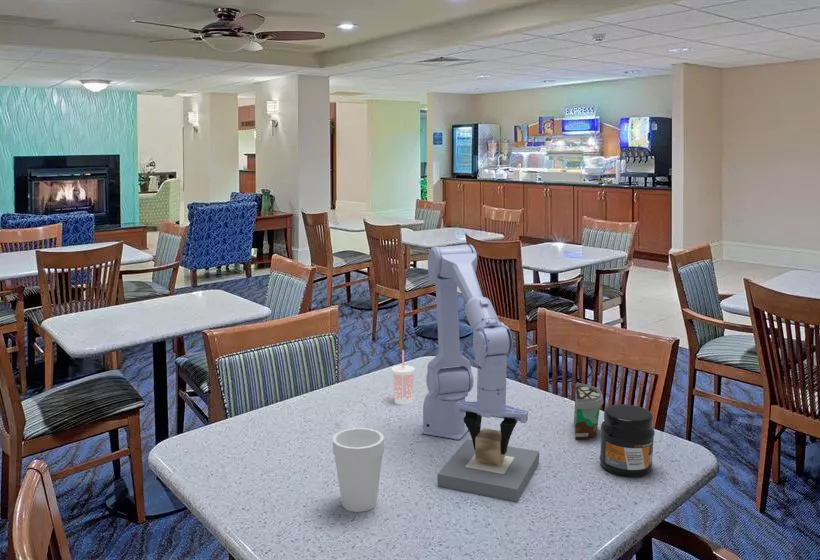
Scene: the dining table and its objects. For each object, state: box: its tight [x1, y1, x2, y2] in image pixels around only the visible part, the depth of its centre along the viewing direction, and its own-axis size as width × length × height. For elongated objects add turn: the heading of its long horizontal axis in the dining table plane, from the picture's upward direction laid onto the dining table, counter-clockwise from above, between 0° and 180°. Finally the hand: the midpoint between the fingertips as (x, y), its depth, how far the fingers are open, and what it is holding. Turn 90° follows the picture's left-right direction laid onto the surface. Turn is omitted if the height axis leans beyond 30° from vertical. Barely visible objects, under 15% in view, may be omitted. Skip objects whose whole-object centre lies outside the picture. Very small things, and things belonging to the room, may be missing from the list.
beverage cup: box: [391, 349, 416, 406], centre depth 180 cm, size 6×6×14 cm
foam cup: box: [332, 427, 385, 513], centre depth 128 cm, size 10×9×13 cm
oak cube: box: [475, 427, 506, 465], centre depth 140 cm, size 5×5×5 cm
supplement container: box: [599, 403, 655, 478], centre depth 142 cm, size 10×10×12 cm
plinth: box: [436, 439, 540, 502], centre depth 140 cm, size 16×18×3 cm
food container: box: [573, 382, 604, 441], centre depth 160 cm, size 12×6×10 cm, turn 168°
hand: (490, 450), depth 140 cm, fingers closed on oak cube, 5 cm apart
